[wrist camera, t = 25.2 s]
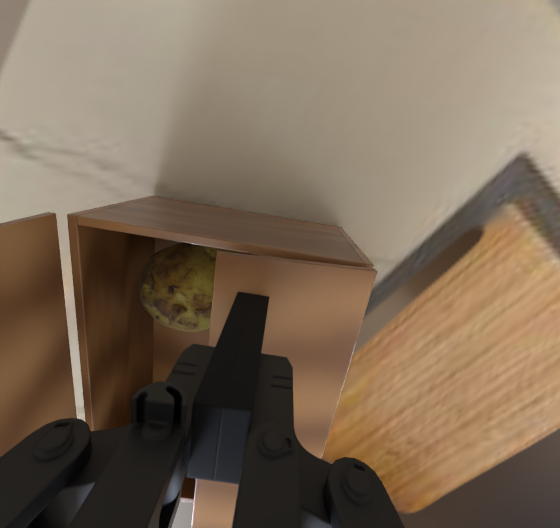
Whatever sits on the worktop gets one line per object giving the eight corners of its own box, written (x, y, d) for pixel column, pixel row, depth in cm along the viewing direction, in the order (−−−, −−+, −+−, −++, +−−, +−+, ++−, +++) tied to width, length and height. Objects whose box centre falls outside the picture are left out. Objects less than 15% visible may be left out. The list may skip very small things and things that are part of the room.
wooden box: (141, 193, 23) (-212, 259, 7) (341, 227, 24) (460, 364, 7) (141, 391, 30) (-34, 659, 14) (296, 415, 31) (305, 702, 14)
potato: (300, 327, 26) (304, 392, 19) (166, 284, 25) (114, 335, 18) (334, 246, 24) (355, 284, 16) (186, 195, 23) (135, 210, 15)
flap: (217, 250, 13) (216, 253, 13) (374, 268, 14) (377, 271, 14) (191, 531, 20) (190, 538, 19) (298, 524, 21) (300, 531, 21)
